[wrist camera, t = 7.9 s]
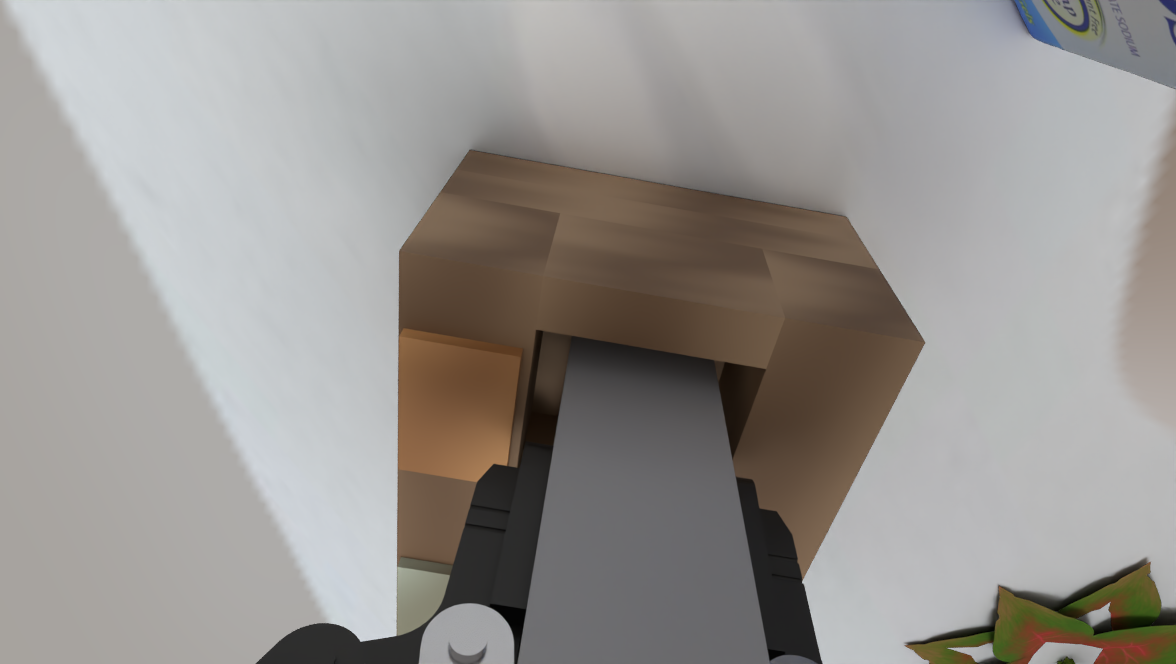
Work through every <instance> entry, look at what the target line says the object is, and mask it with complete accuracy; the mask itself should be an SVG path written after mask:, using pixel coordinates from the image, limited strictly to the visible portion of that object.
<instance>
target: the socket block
mask: <svg viewBox="0 0 1176 664" xmlns="http://www.w3.org/2000/svg"><path fill="white" fill-rule="evenodd" d="M572 336H577V337H582V338H588V339H594V340H600V341H606V342H612V343H617V344H623V345H629V346H635V347H641V348H647V349H652V350H658V351H664V352H670V353H676V354H681V355H687V356H693V357H699V358H705V359H711V360H714V363H715V368H716V374H717V379H718V384H719V390H720V395H721V401H722V406H723V412H724V417H725V422H726V428H727V433H728V439H729V444H730V450H731V455H732V460H733V466H734V471H735V477H741V478H747V479H752V480H753V481H754V483H755V487H756V492H757V498H758V503H759V508H761V509H767V510H773V511H777V512H778V514H779V515H780V517H781V518H782V520H783V521H784V523H785V524H786V526H787V527H788V529H789V530H790V532H791V533H792V535H793V540H794V544H795V548H796V553H797V557H798V560H797V563H798V564H799V566H800V570H801V574H802V580H803V578H804V576H805V575H806V573H807V571H808V569H809V567H810V565H811V563H812V561H813V559H814V557H815V555H816V553H817V551H818V549H819V547H820V545H821V543H822V542H823V540H824V538H825V536H826V534H827V532H828V530H829V528H830V526H831V524H832V522H833V520H834V518H835V516H836V514H837V512H838V511H839V509H840V507H841V505H842V503H843V501H844V499H845V497H846V495H847V493H848V491H849V489H850V487H851V485H852V483H853V481H854V480H855V478H856V476H857V474H858V472H859V470H860V468H861V466H862V464H863V462H864V460H865V458H866V456H867V454H868V452H869V450H870V448H871V447H872V445H873V443H874V441H875V439H876V437H877V435H878V433H879V431H880V429H881V427H882V425H883V423H884V421H885V419H886V417H887V416H888V414H889V412H890V410H891V408H892V406H893V404H894V402H895V400H896V398H897V396H898V394H899V392H900V390H901V388H902V386H903V385H904V383H905V381H906V379H907V377H908V375H909V373H910V371H911V369H912V367H913V365H914V363H915V361H916V359H917V357H918V355H919V353H920V352H921V350H922V348H923V346H924V344H925V341H924V340H923V338H922V336H921V335H920V333H919V332H918V330H917V328H916V327H915V325H914V324H913V322H912V320H911V319H910V317H909V316H908V314H907V312H906V311H905V309H904V308H903V306H902V305H901V303H900V301H899V300H898V298H897V297H896V295H895V293H894V292H893V290H892V289H891V287H890V285H889V284H888V282H887V281H886V279H885V277H884V276H883V274H882V273H881V271H880V269H879V268H878V266H877V265H876V263H875V262H874V260H873V258H872V257H871V255H870V254H869V252H868V250H867V249H866V247H865V246H864V244H863V242H862V241H861V239H860V238H859V236H858V234H857V233H856V231H855V230H854V228H853V226H852V225H851V223H850V222H849V220H848V219H847V217H844V216H838V215H833V214H827V213H821V212H816V211H810V210H804V209H799V208H793V207H788V206H782V205H776V204H771V203H765V202H759V201H754V200H748V199H742V198H737V197H731V196H726V195H720V194H714V193H709V192H703V191H697V190H692V189H686V188H681V187H675V186H669V185H664V184H658V183H652V182H647V181H641V180H635V179H630V178H624V177H619V176H613V175H607V174H602V173H596V172H590V171H585V170H579V169H574V168H568V167H562V166H557V165H551V164H545V163H540V162H534V161H529V160H523V159H517V158H512V157H506V156H500V155H495V154H489V153H483V152H478V151H472V150H469V152H468V153H467V155H466V156H465V158H464V159H463V160H462V162H461V163H460V165H459V166H458V168H457V169H456V170H455V172H454V173H453V175H452V176H451V178H450V179H449V180H448V182H447V183H446V185H445V186H444V188H443V189H442V190H441V192H440V193H439V195H438V196H437V198H436V199H435V200H434V202H433V203H432V205H431V206H430V208H429V209H428V210H427V212H426V213H425V215H424V216H423V218H422V219H421V221H420V222H419V223H418V225H417V226H416V228H415V229H414V231H413V232H412V233H411V235H410V236H409V238H408V239H407V241H406V242H405V243H404V245H403V246H402V248H401V249H400V251H399V357H398V510H397V636H399V635H403V634H405V633H408V632H411V631H413V630H415V629H416V628H418V627H420V626H421V625H423V624H424V623H426V622H427V621H428V620H429V619H430V618H431V617H432V616H433V615H434V614H435V612H436V611H437V610H438V608H439V606H440V605H441V603H442V600H443V598H444V595H445V591H446V588H447V584H448V581H449V577H450V574H451V570H452V567H453V563H454V560H455V557H456V553H457V550H458V546H459V543H460V539H461V536H462V532H463V529H464V527H465V522H466V518H467V515H468V511H469V509H470V504H471V501H472V497H473V494H474V490H475V487H476V484H477V481H478V480H479V479H480V478H481V477H482V476H483V475H484V474H485V473H486V471H487V470H488V469H489V468H490V467H491V466H492V465H493V464H498V465H504V466H510V467H516V468H520V464H521V459H522V455H523V450H524V446H525V442H526V441H528V442H534V443H540V444H546V445H552V446H553V444H554V438H555V432H556V426H557V420H558V414H559V408H560V403H561V397H562V391H563V385H564V379H565V374H566V368H567V362H568V356H569V350H570V344H571V339H572Z"/></svg>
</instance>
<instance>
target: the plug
mask: <svg viewBox="0 0 1176 664" xmlns="http://www.w3.org/2000/svg"><path fill="white" fill-rule="evenodd" d="M553 446H554V447H553V453H552V459H551V465H550V471H549V477H548V483H547V489H546V495H545V501H544V507H543V513H542V519H541V525H540V531H539V537H538V543H537V549H536V555H535V561H534V567H533V573H532V579H531V585H530V591H529V597H528V603H527V609H526V615H525V621H524V627H523V632H522V638H521V644H520V650H519V655H518V661H517V664H770V661H769V656H768V650H767V645H766V639H765V634H764V629H763V623H762V618H761V612H760V607H759V601H758V596H757V591H756V585H755V580H754V574H753V569H752V563H751V558H750V553H749V547H748V542H747V536H746V531H745V525H744V520H743V515H742V509H741V504H740V498H739V493H738V488H737V482H736V477H735V471H734V466H733V460H732V455H731V450H730V444H729V439H728V433H727V428H726V422H725V417H724V412H723V406H722V401H721V395H720V390H719V384H718V379H717V374H716V368H715V363H714V360H711V359H705V358H699V357H693V356H687V355H681V354H676V353H670V352H664V351H658V350H652V349H647V348H641V347H635V346H629V345H623V344H617V343H612V342H606V341H600V340H594V339H588V338H582V337H577V336H572V339H571V344H570V350H569V356H568V362H567V368H566V374H565V379H564V385H563V391H562V397H561V403H560V408H559V414H558V420H557V426H556V432H555V438H554V444H553Z"/></svg>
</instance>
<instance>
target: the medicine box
mask: <svg viewBox="0 0 1176 664" xmlns="http://www.w3.org/2000/svg"><path fill="white" fill-rule="evenodd" d="M1015 2H1016V5H1017V7H1018V10H1019V12H1020V15H1021V17H1022V18H1023V20H1024V22H1025V24H1026V26H1027V28H1028V30H1029V33H1030V34H1031V36H1032V37H1033V38H1035V39H1037V40H1039V41H1041V42H1043V43H1046V44H1049V45H1052V46H1055V47H1058V48H1060V49H1063V50H1066V51H1069V52H1072V53H1075V54H1078V55H1081V56H1083V57H1086V58H1089V59H1092V60H1095V61H1098V62H1100V63H1103V64H1106V65H1109V66H1112V67H1115V68H1118V69H1121V70H1124V71H1127V72H1130V73H1133V74H1136V75H1138V76H1141V77H1143V78H1146V79H1149V80H1152V81H1155V82H1157V83H1160V84H1163V85H1166V86H1168V87H1171V88H1174V89H1176V0H1015Z"/></svg>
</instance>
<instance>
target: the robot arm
mask: <svg viewBox="0 0 1176 664" xmlns="http://www.w3.org/2000/svg"><path fill="white" fill-rule="evenodd" d="M553 447H554V446H552V445H546V444H540V443H534V442H528V441H526V442H525V446H524V450H523V455H522V459H521V464H520V468H516V467H510V466H504V465H498V464H493V465H492V466H491V467H490V468H489V469H488V470H487V471H486V473H485V474H484V475H483V476H482V477H481V478H480V479H479V480H478V481H477V484H476V487H475V490H474V494H473V497H472V501H471V504H470V509H469V511H468V515H467V518H466V522H465V527H464V529H463V532H462V536H461V539H460V543H459V546H458V550H457V553H456V557H455V560H454V563H453V567H452V570H451V574H450V577H449V581H448V584H447V588H446V591H445V595H444V598H443V600H442V603H441V605H440V606H439V608H438V610H437V611H436V612H435V614H434V615H433V616H432V617H431V618H430V619H429V620H428V621H427V622H426V623H424V624H423V625H421V626H420V627H418V628H416V629H415V630H413V631H411V632H408V633H405V634H403V635H399V636H394V637H389V638H382V639H376V640H370V641H363V642H360V640H359V639H358V638H357V637H356V635H355V634H353V633H352V632H351V631H350V630H348V629H346V628H344V627H342V626H339V625H336V624H329V623H319V624H313V625H309V626H305V627H302V628H300V629H297V630H295V631H293V632H292V633H290V634H288V635H287V636H285V637H284V638H283V639H282V640H281V641H279V642H278V643H277V644H276V645H275V646H274V647H273V648H272V649H271V650H270V651H269V652H267V653H266V654H265V655H264V656H263V657H262V658H261V659H260V660H259V661H258V662H257V663H256V664H517V661H518V655H519V650H520V644H521V638H522V632H523V627H524V621H525V615H526V609H527V603H528V597H529V591H530V585H531V579H532V573H533V567H534V561H535V555H536V549H537V543H538V537H539V531H540V525H541V519H542V513H543V507H544V501H545V495H546V489H547V483H548V477H549V471H550V465H551V459H552V453H553ZM736 482H737V488H738V493H739V498H740V504H741V509H742V515H743V520H744V525H745V531H746V536H747V542H748V547H749V553H750V558H751V563H752V569H753V574H754V580H755V585H756V591H757V596H758V601H759V607H760V612H761V618H762V623H763V629H764V634H765V639H766V645H767V650H768V656H769V661H770V664H822V661H821V657H820V653H819V649H818V644H817V640H816V636H815V631H814V627H813V622H812V618H811V614H810V609H809V605H808V601H807V596H806V592H805V588H804V584H802V574H801V570H800V566H799V564H798V563H797V560H798V557H797V553H796V548H795V544H794V540H793V535H792V533H791V532H790V530H789V529H788V527H787V526H786V524H785V523H784V521H783V520H782V518H781V517H780V515H779V514H778V512H777V511H773V510H767V509H761V508H759V503H758V498H757V492H756V487H755V483H754V481H753V480H752V479H747V478H741V477H736Z"/></svg>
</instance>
